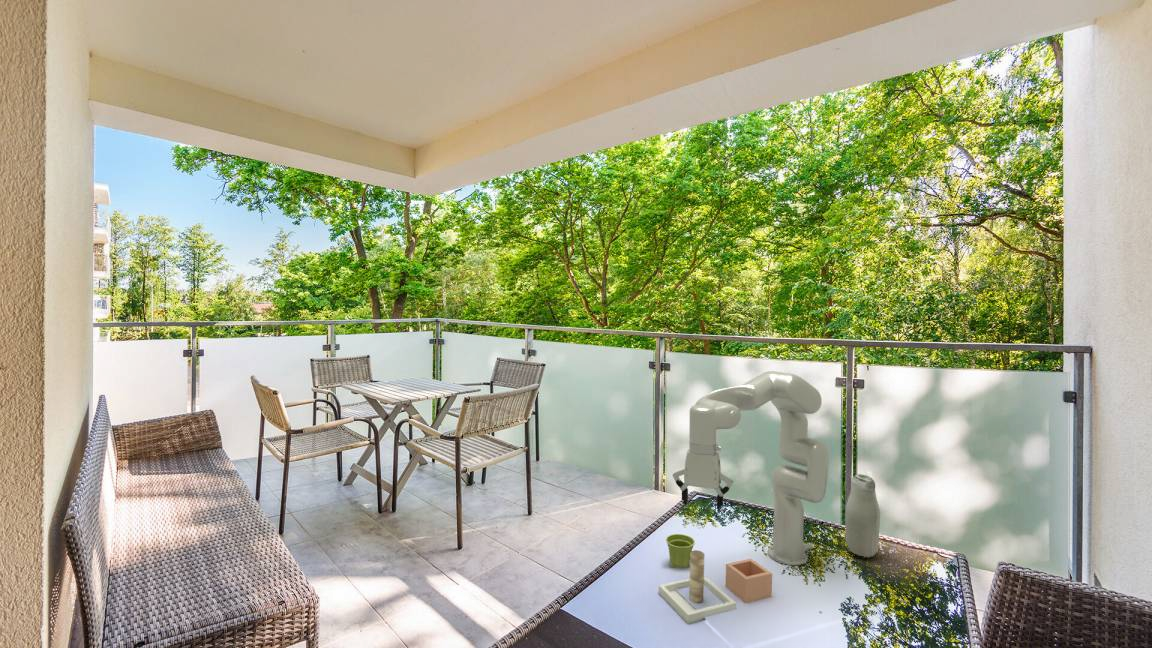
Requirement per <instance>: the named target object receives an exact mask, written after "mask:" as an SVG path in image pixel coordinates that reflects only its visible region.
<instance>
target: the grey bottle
mask: <svg viewBox="0 0 1152 648" xmlns="http://www.w3.org/2000/svg"><path fill="white" fill-rule="evenodd" d="M880 522H881V511H880V505H879V503H878V499H877V493H876V482H875V481H874V479H873V478H872V477H870V476H868V475H867V474H866V475H865V474H861V473H857V474H855V475H854V476H852V478H851V480H850V491H849V496H848V497H847V502H846V505H845V543H846V545H847V548H848V549H849V551H850V552H852V553H853V554H854V555H855V554H857V555H859V556H858V557H860V556H864V557H863V558H866V557H867V558H871V557H873V556H874V555H875V554H876V553H877V552H878V551H879V544H880V543H879V542H880V524H881V523H880ZM857 555H856V556H857ZM870 556H871V557H870Z"/></svg>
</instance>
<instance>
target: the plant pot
mask: <svg viewBox="0 0 1152 648" xmlns="http://www.w3.org/2000/svg"><path fill="white" fill-rule="evenodd" d="M665 541H666V543H667V547H668V553H669V554H668V555H669V562H670V566H671V567H673V568H680V569H681V568H682V569H683V568H687V567H688V566H690V552H691V551H693V548H694V546H695V543H696V541H695V539H694V538H693V537H691V536H689V535H687V534H683V533H673V534H670V535H668V536H667V537H666V538H665Z"/></svg>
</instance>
